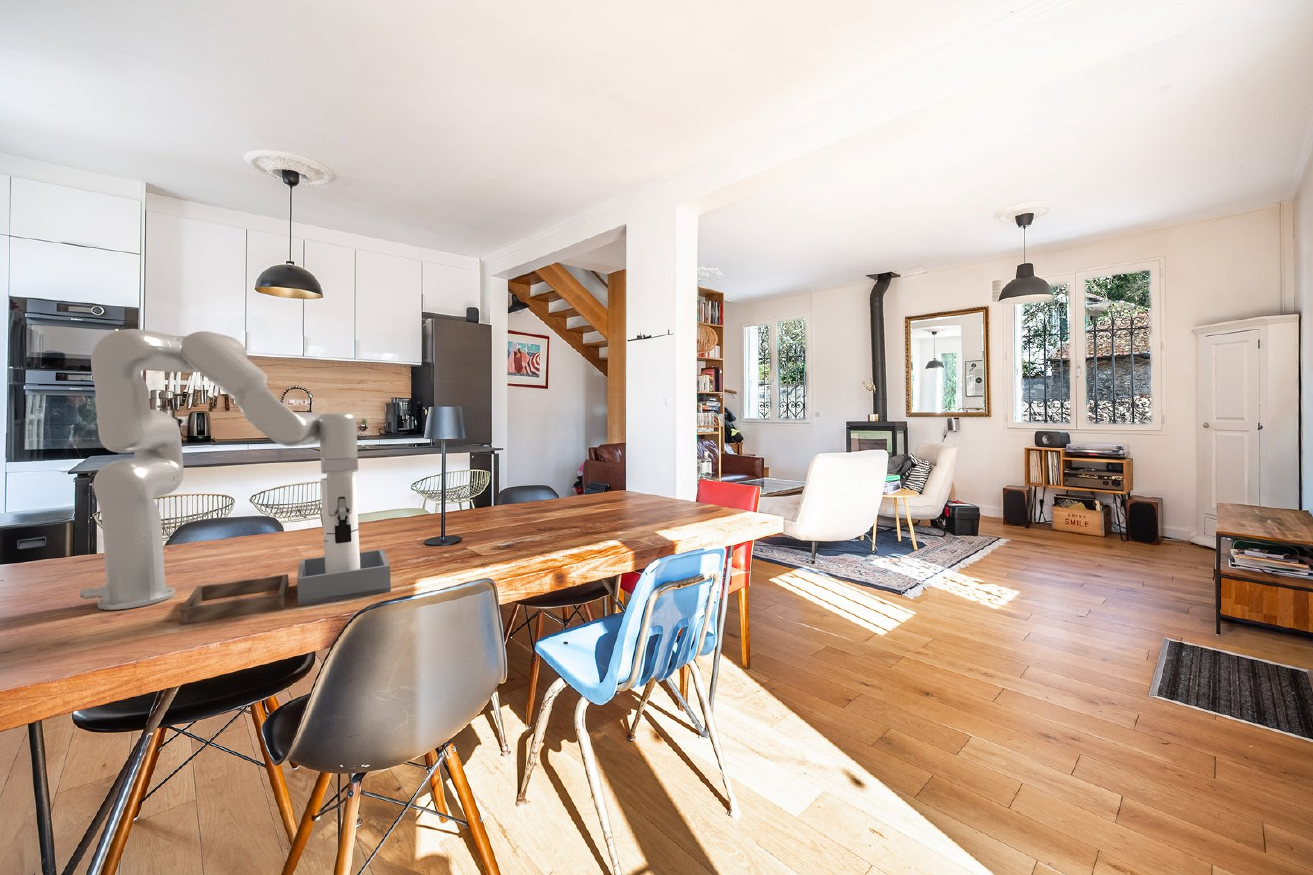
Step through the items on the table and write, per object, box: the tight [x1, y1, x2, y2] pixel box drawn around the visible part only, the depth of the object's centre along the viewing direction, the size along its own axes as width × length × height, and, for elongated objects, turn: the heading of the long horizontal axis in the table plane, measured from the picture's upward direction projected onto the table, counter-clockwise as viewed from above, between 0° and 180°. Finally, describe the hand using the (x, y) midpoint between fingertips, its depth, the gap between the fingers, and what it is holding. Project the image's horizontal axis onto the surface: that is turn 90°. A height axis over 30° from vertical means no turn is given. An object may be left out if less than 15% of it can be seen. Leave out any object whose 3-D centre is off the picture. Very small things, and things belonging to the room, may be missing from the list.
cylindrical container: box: [320, 475, 361, 574], centre depth 131 cm, size 7×7×25 cm
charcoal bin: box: [296, 548, 392, 607], centre depth 132 cm, size 18×18×6 cm
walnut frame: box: [179, 573, 290, 625], centre depth 122 cm, size 17×17×3 cm
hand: (342, 538), depth 131 cm, fingers open, 9 cm apart
